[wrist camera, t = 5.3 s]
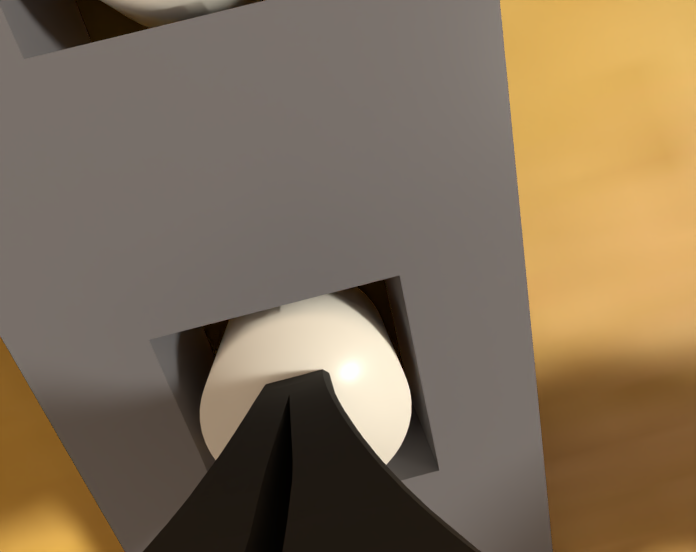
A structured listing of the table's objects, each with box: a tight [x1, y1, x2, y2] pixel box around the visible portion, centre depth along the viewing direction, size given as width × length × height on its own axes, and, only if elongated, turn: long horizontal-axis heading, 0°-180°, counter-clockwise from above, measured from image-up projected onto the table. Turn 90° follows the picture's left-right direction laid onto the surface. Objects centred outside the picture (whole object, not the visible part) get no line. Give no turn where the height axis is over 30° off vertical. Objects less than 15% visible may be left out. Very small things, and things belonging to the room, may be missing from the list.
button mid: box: [200, 287, 411, 465], centre depth 11 cm, size 4×4×3 cm
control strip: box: [0, 0, 553, 552], centre depth 11 cm, size 10×29×3 cm, turn 13°
